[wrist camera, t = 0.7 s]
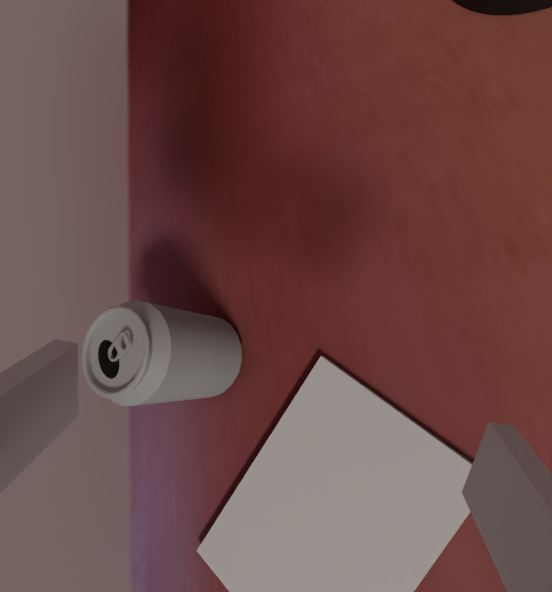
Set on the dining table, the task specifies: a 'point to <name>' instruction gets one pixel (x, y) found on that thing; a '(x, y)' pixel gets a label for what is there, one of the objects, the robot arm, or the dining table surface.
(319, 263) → the dining table surface
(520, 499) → the robot arm
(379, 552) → the placemat
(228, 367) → the can
